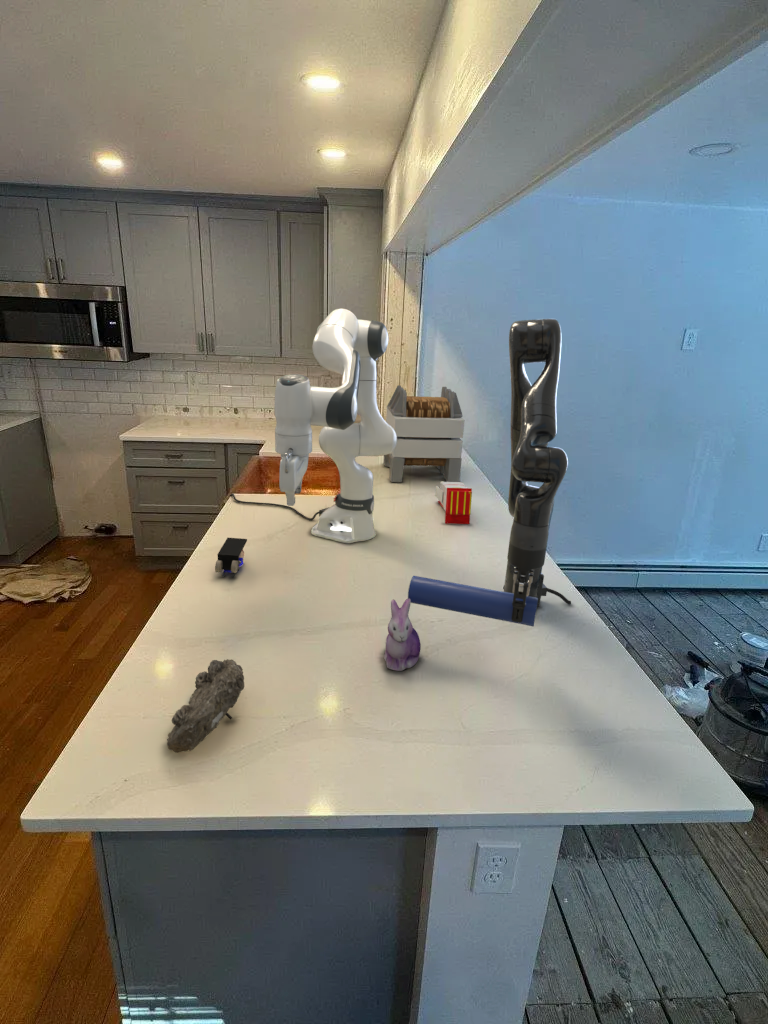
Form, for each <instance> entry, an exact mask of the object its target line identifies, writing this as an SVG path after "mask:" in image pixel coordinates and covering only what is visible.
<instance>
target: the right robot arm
mask: <svg viewBox="0 0 768 1024" xmlns="http://www.w3.org/2000/svg"><path fill="white" fill-rule="evenodd" d="M508 335H509V336H508V354H509V368H510V369H509V370H510V389H511V390H510V392H511V393H510V395H511V396H510V401H511V402H510V476H509V477H510V478H509V487H508V499H507V508H508V513H509V515H510V516H511V517H512V518H513V520H512V525H511V528H510V533H509V541H508V548H507V549H508V551H507V557H506V559H507V562H506V569H505V578H504V584H503V587H502V590H503V592H508V593H513V594H514V598H513V602H512V606H513V612H512V621H514V622H522V619H523V612H524V608H525V606H526V603H525V602H526V597H527V596H530V597H536V598H538V602H537V608H540V606H541V599H542V597H546V596H547V593H550V594H553V595H555V596H557V597H559V598H560V599H561V600H562V601H563V602H564V603H566V604H567V605H571V604H572V601H571V600H569V599H568V598H567V597H566V596H564V595H563V593H561V592H558V591H557V590H554V589H552V588H549V587H547V585H545V583H544V580H545V575H544V573H543V566H544V565H545V561H546V556H547V555H546V553H547V549H548V548H547V547H548V541H549V534H550V533H549V531H550V526H551V521H552V517H553V512H554V508H555V497H556V495H557V492H558V490H559V488H560V486H561V484H562V482H563V480H564V478H565V476H566V474H567V471H568V467H569V459H568V455H567V453H566V452H565V451H564V449H563V448H561V447H557V446H555V447H554V446H549V445H550V442H552V441H553V440H554V439H555V438H556V437H557V431H558V423H557V395H558V394H557V393H558V386H559V385H558V384H559V379H560V369H561V368H560V367H561V357H562V356H561V355H562V339H563V338H562V327H561V324H560V322H559V320H558V319H556V318H535V319H524V320H523V319H522V320H516V321H513V322H512V323H511V326H510V328H509V332H508ZM541 363H544V366H543V368H542V371H541V372H540V374H539V375H538V377H537V378H536V379H535V381H534V382H533V383H531V381H530V380H529V377H528V375H527V373H526V367H525V364H541ZM528 482H529V483H530V482H531V483H541V484H542V485H540V486H534V485H531V484H528ZM516 598H519V599H523V601H519V600H516Z"/></svg>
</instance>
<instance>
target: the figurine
mask: <svg viewBox="0 0 768 1024" xmlns="http://www.w3.org/2000/svg"><path fill="white" fill-rule="evenodd" d="M411 604H412V603H411V600H410V599H409V598H408V597H407V598H406V599H405V600H404V602H403V604H402V605H401V607H399V604H398V603H397V600H396V599H394V598H393V599H391V601H390V615H391V616H390V619H389V621H388V623H387V632H388V634H387V636H386V639H385V641H386V642H385V650H384V651H385V652H384V656H383V659H384V661H385V664H386V667H387V669H388V670H393V671H399V672H400V671H404V670H406V669H411V668H413V667H414V666H415V665H416V664H417V663H418V661H419V659H420V653H421V649H422V644H421V639H420V636H419V633H418V632H417V630H416V629H415V627H414V626H413V623H412V621H411V619H410V617H409V614H410V613H409V612H410V609H411Z"/></svg>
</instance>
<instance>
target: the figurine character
mask: <svg viewBox="0 0 768 1024" xmlns="http://www.w3.org/2000/svg"><path fill="white" fill-rule="evenodd" d="M247 542H248V538H240V537H226V539H225V541H224V543H223V544H222V546H221V547H220V549H219V551H218V552H217V560H216V562H215V564H214V572H215V573H221V577H222V578H224V577H225V576H226V574H227V573H230V574H231V573H232V574H231V578H234V577H235V575H236V573H237V572H239V571H240V567H242V566H243V565H244V564H245V562H244V558H245V551H244V547H245V546H246V544H247Z"/></svg>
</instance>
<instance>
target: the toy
mask: <svg viewBox="0 0 768 1024" xmlns="http://www.w3.org/2000/svg"><path fill="white" fill-rule="evenodd" d="M434 497H435V498H436V499H437V503H438V504H439V505H440V506H441V508H443V510H444V511H445V515H444V524H448V525H449V524H451V525H470V522H471V521H470V520H471V515H472V513H471V512H472V497H473V489H472V488H471V487H470V488H469V487H468V486H467V485H465V484H464V483H463V482H461V481H460V482H447V481H440V487H439V486H438V485H435V491H434Z"/></svg>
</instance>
